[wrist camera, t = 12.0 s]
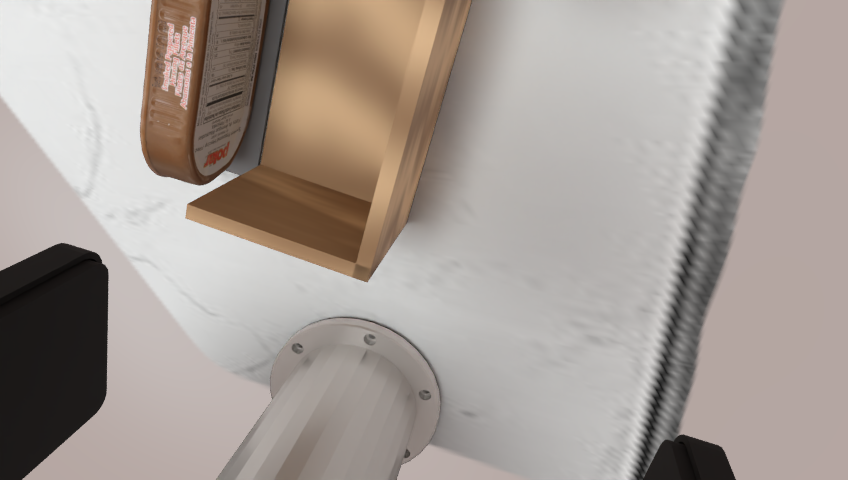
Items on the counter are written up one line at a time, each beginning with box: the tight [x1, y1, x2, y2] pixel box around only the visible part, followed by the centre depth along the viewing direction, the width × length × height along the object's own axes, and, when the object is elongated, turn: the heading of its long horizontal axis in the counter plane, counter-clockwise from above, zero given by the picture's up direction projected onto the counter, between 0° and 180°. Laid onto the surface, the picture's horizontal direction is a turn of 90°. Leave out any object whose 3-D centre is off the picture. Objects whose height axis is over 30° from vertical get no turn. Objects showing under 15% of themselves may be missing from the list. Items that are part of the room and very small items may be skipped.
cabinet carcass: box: [186, 0, 472, 282], centre depth 30 cm, size 16×10×10 cm, turn 164°
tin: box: [140, 0, 270, 185], centre depth 32 cm, size 15×3×8 cm, turn 164°
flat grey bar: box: [226, 0, 288, 175], centre depth 36 cm, size 17×4×1 cm, turn 164°
